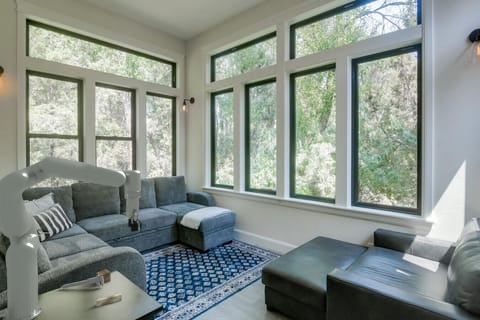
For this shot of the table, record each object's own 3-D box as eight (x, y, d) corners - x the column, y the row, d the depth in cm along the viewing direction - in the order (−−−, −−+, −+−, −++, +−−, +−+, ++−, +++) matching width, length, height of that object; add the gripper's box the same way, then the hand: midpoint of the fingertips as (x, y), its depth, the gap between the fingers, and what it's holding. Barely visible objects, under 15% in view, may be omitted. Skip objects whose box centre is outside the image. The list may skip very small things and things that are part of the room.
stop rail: (96, 306, 112) (96, 301, 111) (96, 304, 113) (96, 299, 113) (121, 300, 117) (121, 294, 117) (121, 298, 118) (121, 292, 118)
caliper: (103, 286, 129) (104, 273, 129) (102, 287, 128) (103, 274, 128) (61, 287, 127) (61, 275, 127) (59, 288, 126) (60, 276, 126)
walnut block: (100, 285, 131) (100, 275, 131) (96, 282, 134) (96, 272, 134) (110, 281, 135) (110, 271, 135) (106, 278, 138) (106, 269, 138)
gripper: (122, 193, 134) (122, 225, 134) (126, 197, 119) (127, 234, 119) (137, 192, 137) (138, 223, 138) (143, 196, 123) (144, 231, 123)
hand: (133, 228), depth 128 cm, fingers open, 9 cm apart
